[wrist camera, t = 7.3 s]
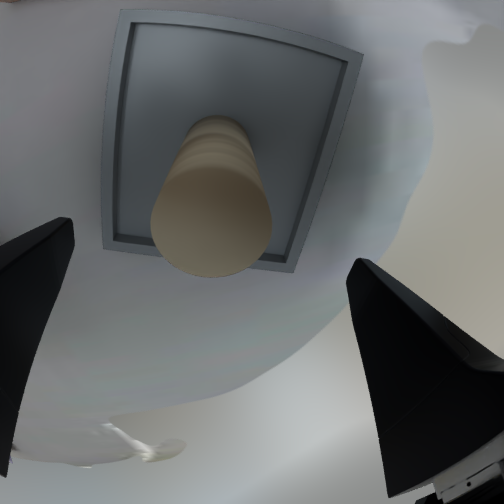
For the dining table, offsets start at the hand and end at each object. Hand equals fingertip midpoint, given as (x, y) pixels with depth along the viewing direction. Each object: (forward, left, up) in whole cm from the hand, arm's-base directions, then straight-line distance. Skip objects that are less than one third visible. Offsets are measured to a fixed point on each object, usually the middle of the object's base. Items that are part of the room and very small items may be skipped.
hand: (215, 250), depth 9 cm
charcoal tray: (0, 0, -12) cm, 12 cm away
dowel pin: (0, 0, -11) cm, 11 cm away
